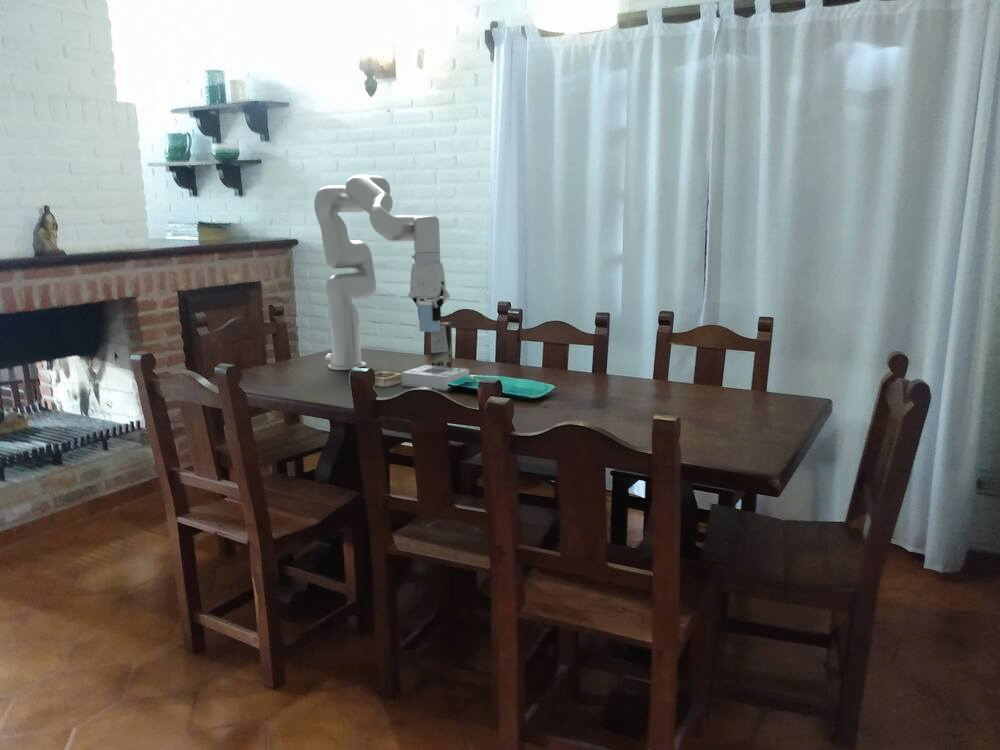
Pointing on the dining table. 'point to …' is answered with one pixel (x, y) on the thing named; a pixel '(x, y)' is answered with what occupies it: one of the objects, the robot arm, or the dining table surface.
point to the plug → (427, 317)
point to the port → (432, 376)
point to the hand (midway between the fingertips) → (429, 319)
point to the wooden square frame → (387, 378)
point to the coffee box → (442, 346)
